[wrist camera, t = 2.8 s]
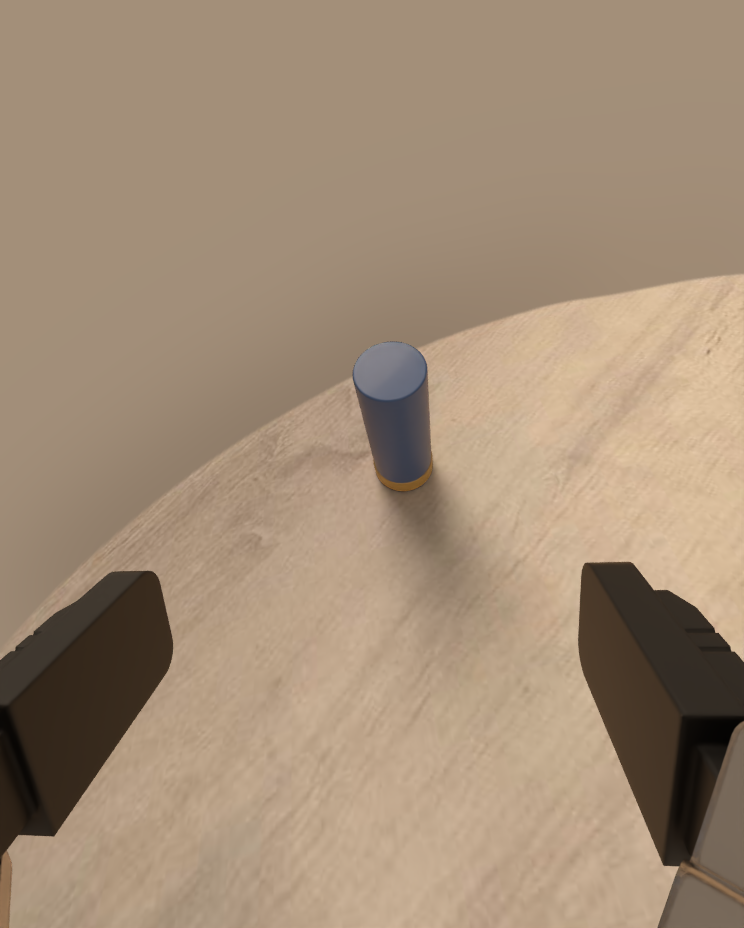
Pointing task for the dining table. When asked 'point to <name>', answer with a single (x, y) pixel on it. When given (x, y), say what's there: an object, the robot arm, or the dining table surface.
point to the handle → (396, 413)
